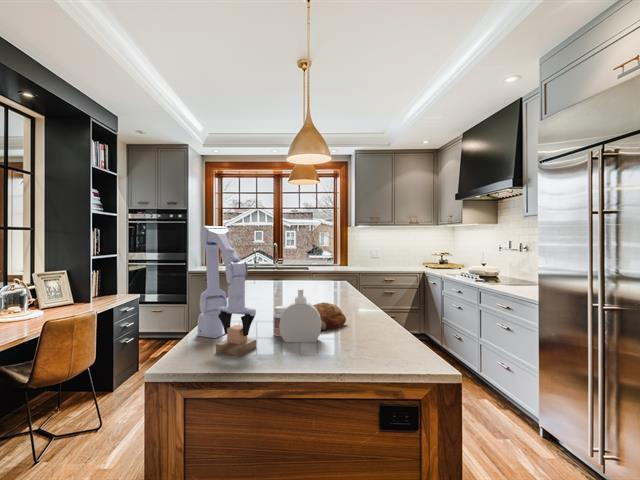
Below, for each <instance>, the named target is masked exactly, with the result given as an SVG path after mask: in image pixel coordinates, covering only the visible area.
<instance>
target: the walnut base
mask: <svg viewBox="0 0 640 480" xmlns="http://www.w3.org/2000/svg"><path fill="white" fill-rule="evenodd" d="M255 349H257V339H255V338H249V337H247V341H245V342H243V343H241V344H235V343H227V338H226V339H225V340H222V341H220V342H216V343H215V354H223V355H228V356H230V355H231V356H235V357H242V356H244V355H245V354H247V353H250V352H251V351H253V350H255Z"/></svg>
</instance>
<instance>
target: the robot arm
mask: <svg viewBox="0 0 640 480" xmlns="http://www.w3.org/2000/svg"><path fill="white" fill-rule="evenodd" d="M229 238H230V230H229V228H228V227H227V226H213V225H211V226H209V225H204V226H202V228H201V230H200V244H201V248H204V250H205V264H206V265H205V270H206V289H205V290H204V291H202V293H201V294H200V297H199V298H200V299H199V311H200V314H199V315H198V318H197V333H196V336H197V337H203V338H204V337H205V338H213V339H216V338H219V337H222V336H224V335H227V328H229V327H231V321H232V315H233V314H234V315H242V316H240V319H241V324H242V326H243V336H247V337H248V335H249V333H250V330H251V329H250V328H251V326H252V323H253V321H254V319H255V316H256V314H257V310H256V309H254V308H249V307H246V303H245V302H246V298H245V297H246V295H245V293H246V282H245V281H246V280H245V279H246V277H247V276H248V272H249V268H248V264H247V262H246V260H243V259H241V258H240V256H239V254H238V252H237V251H236V249H235V248H233V247H231V244H230V242H229ZM219 250H220V251H221V253H220V258H221V259H222V262H223V264H224V266H225V271H224V272H225V276H226V284H227V294H226V292H225V291H224V290H223V289H221V287H220V271H219V269H220V268H219V267H220V266H219V265H220V264H219Z"/></svg>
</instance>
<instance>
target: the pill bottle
mask: <svg viewBox="0 0 640 480" xmlns="http://www.w3.org/2000/svg"><path fill="white" fill-rule="evenodd" d="M286 307H287V306H286V305H278V306H277V305H276V306H274V312H275V313H273V335H274V336H275V337H282V336H281V334H280V329H279V323H280V318H281V315H282V314H283V312H284V310H285V309H286Z"/></svg>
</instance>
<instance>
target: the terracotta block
mask: <svg viewBox="0 0 640 480" xmlns="http://www.w3.org/2000/svg"><path fill="white" fill-rule="evenodd" d="M247 338H248V335H247V336H243V325H240V324H239V325H237V324H234V325H232V326H230V327H229V328H227V334H226V339H227V343H235V344H241V343H243V342H245V341H247Z"/></svg>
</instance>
